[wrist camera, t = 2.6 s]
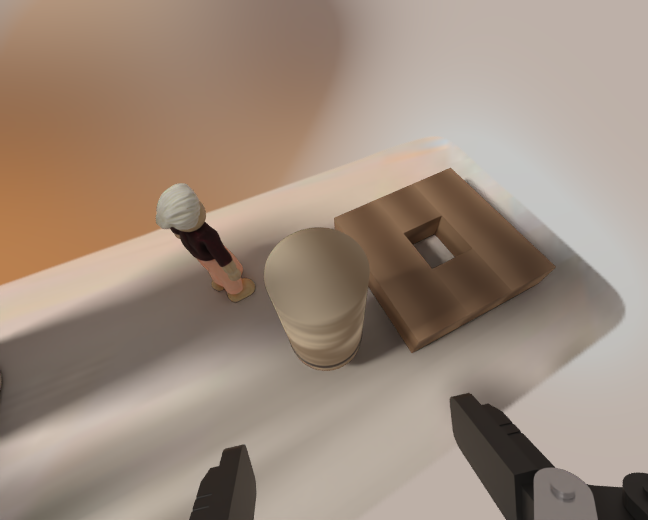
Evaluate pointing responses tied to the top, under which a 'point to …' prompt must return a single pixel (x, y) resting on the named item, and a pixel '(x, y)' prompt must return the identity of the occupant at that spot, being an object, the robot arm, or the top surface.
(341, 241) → the beech peg
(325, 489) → the top surface
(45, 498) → the top surface
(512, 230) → the walnut board
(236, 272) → the grandmother figurine
